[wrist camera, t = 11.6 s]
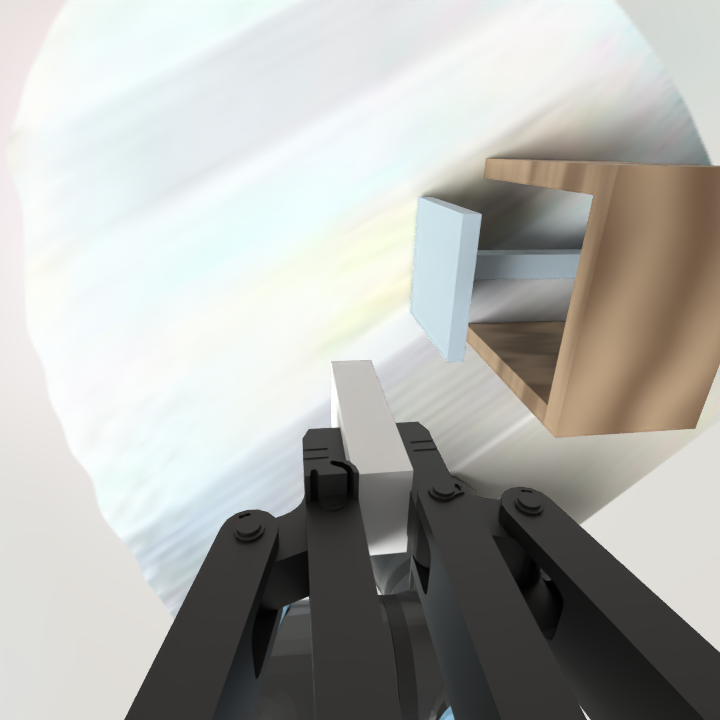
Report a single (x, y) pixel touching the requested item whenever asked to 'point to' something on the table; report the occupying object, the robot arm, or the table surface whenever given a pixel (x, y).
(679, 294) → the tunnel
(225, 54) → the table surface
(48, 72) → the table surface
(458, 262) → the plunger
